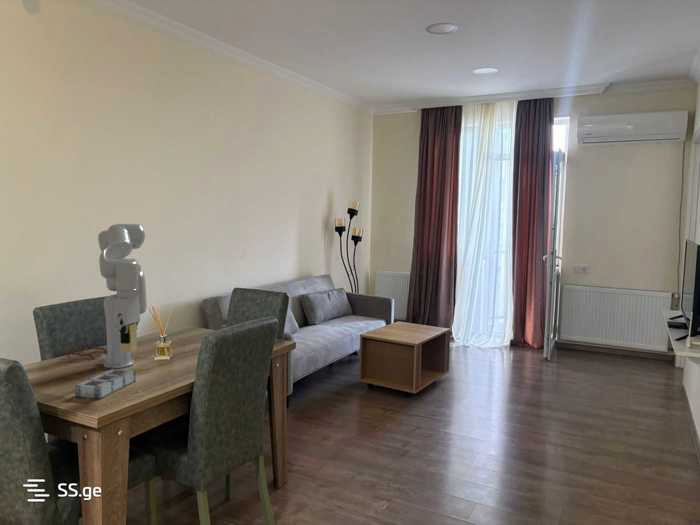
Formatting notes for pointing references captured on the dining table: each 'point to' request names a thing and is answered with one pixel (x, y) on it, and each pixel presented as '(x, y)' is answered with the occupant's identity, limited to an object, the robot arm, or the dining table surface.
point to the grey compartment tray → (105, 384)
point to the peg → (130, 339)
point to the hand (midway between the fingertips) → (128, 341)
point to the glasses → (82, 350)
